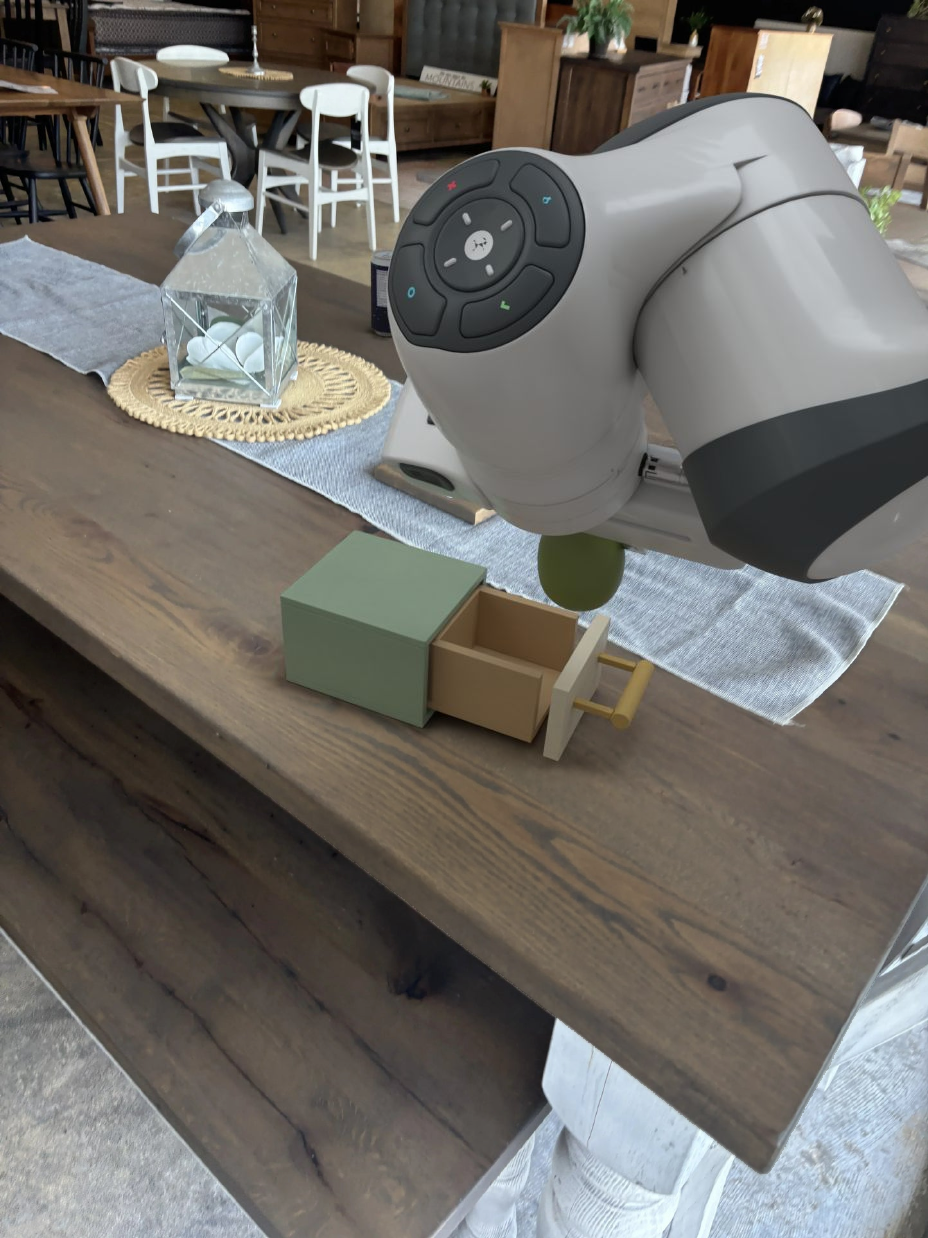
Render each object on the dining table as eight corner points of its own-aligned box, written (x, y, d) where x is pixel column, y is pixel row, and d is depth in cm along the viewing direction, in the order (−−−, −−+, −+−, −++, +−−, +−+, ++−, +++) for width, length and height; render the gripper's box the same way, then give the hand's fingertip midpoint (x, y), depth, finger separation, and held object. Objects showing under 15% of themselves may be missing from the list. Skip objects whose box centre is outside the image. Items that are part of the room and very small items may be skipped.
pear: (520, 609, 59) (533, 469, 53) (554, 572, 63) (571, 438, 57) (599, 637, 57) (622, 495, 51) (630, 597, 61) (655, 461, 55)
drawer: (650, 699, 73) (665, 632, 69) (614, 781, 65) (628, 711, 61) (472, 643, 78) (477, 577, 74) (419, 713, 70) (421, 644, 66)
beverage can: (413, 331, 146) (414, 253, 139) (394, 340, 142) (395, 260, 135) (383, 324, 148) (383, 246, 141) (364, 333, 144) (363, 254, 137)
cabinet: (481, 649, 79) (487, 567, 74) (422, 728, 70) (425, 642, 65) (356, 609, 82) (354, 529, 78) (286, 680, 74) (279, 595, 69)
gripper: (790, 427, 41) (769, 522, 54) (393, 342, 48) (460, 445, 61) (750, 555, 41) (738, 620, 54) (352, 452, 47) (428, 532, 60)
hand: (588, 527), depth 57 cm, fingers closed on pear, 5 cm apart
